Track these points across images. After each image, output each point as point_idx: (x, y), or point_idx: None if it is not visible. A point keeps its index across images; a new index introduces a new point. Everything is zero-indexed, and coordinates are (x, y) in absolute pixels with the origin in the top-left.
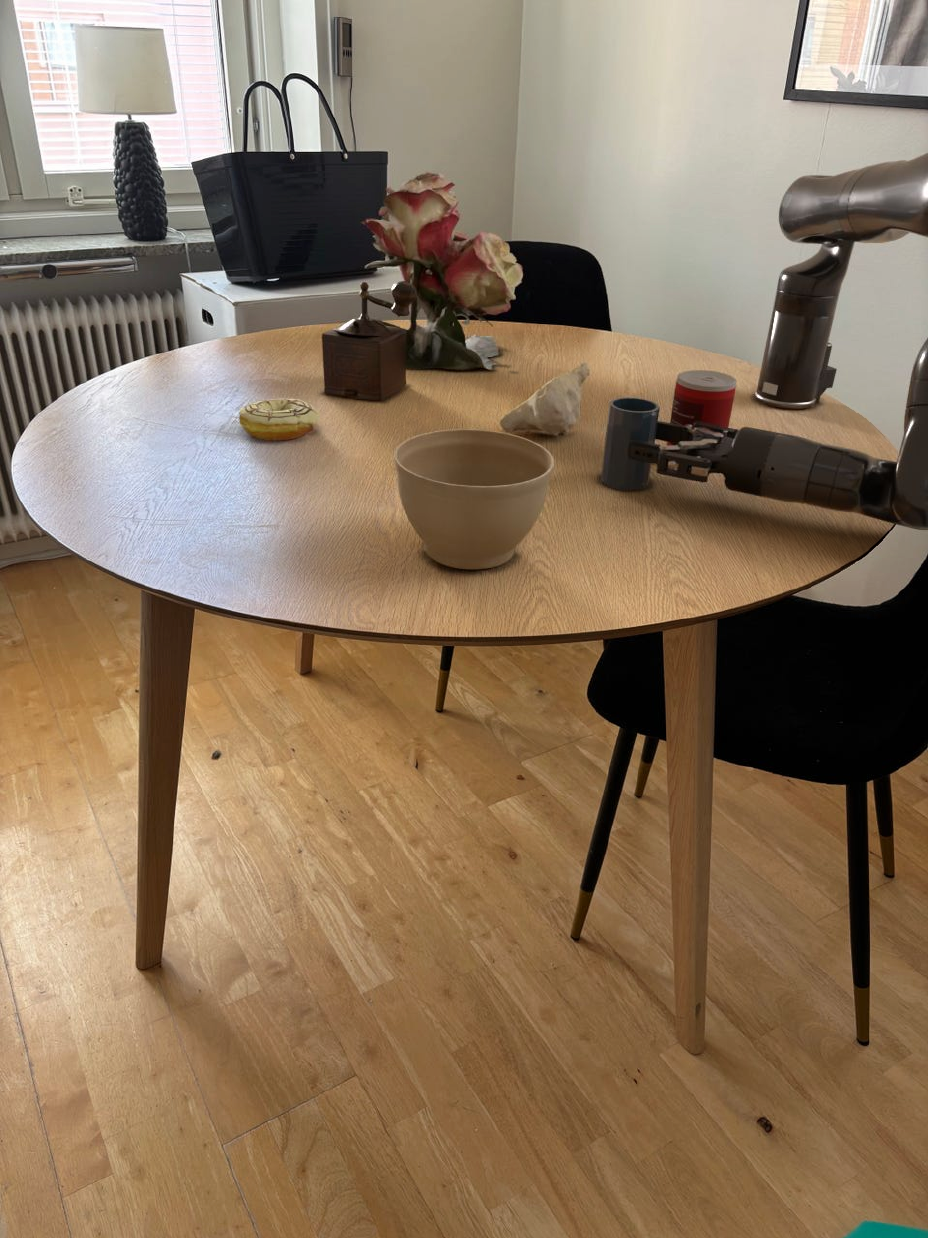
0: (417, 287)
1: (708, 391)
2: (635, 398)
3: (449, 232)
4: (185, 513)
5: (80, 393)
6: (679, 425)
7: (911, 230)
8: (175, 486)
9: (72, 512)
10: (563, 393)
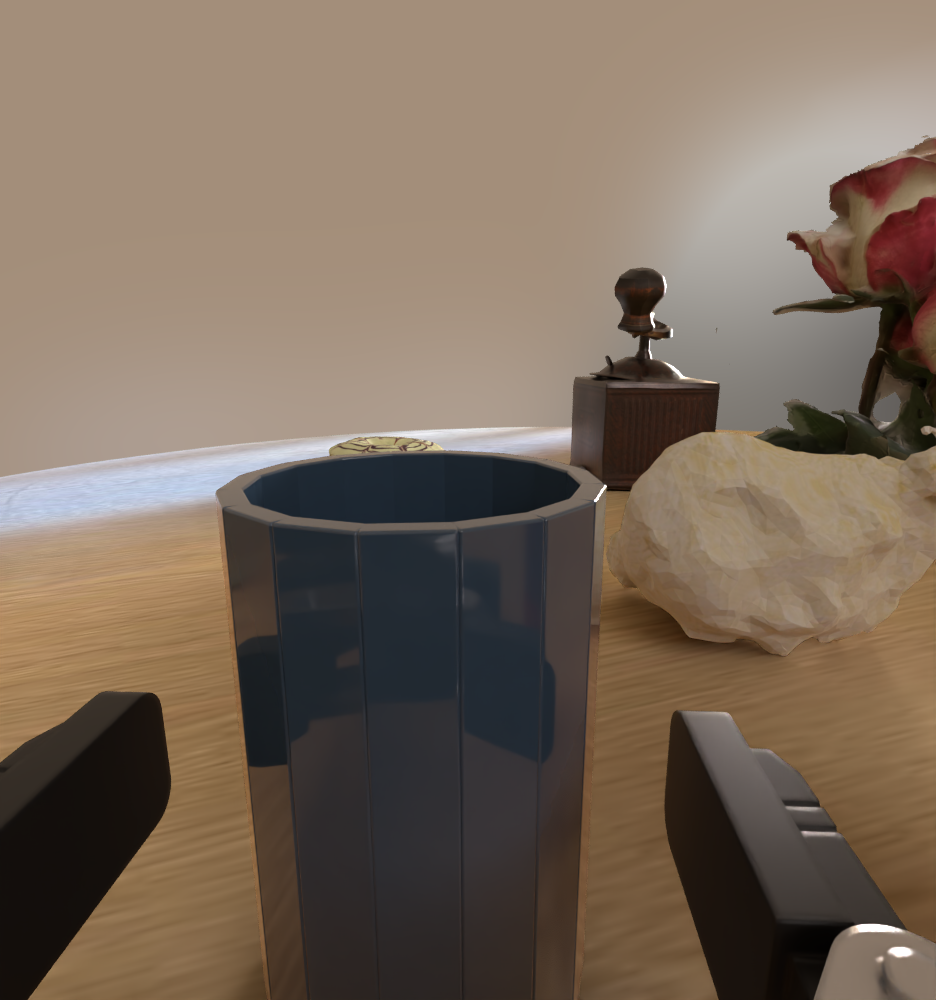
0: (883, 351)
1: None
2: (567, 471)
3: None
4: (36, 500)
5: (407, 431)
6: (803, 878)
7: None
8: (141, 483)
9: (48, 474)
10: (697, 488)
